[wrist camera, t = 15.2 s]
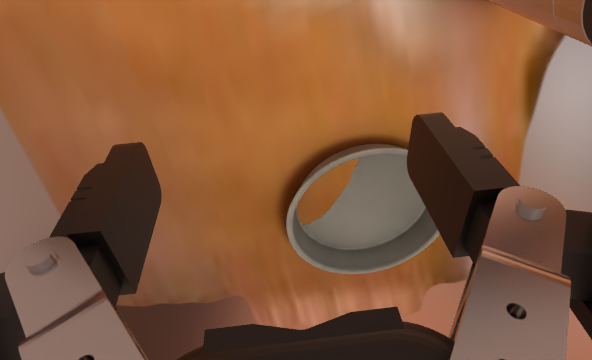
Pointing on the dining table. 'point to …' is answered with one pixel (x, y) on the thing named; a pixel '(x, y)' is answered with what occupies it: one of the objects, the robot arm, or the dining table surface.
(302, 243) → the cake pan
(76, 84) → the dining table surface
